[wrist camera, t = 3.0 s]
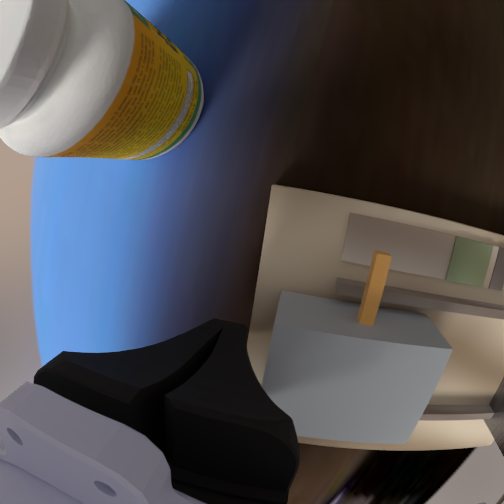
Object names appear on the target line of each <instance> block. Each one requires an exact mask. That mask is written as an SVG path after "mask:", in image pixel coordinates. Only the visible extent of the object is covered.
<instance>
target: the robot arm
mask: <svg viewBox="0 0 504 504" xmlns="http://www.w3.org/2000/svg"><path fill="white" fill-rule="evenodd" d="M246 336H247V327H246V326H245V325H242V324H237V323H232V322H227V321H222V320H218V319H212V320H209V321H207V322H206V323H204V324H202V325H200V326H198V327H196V328H194V329H192V330H190V331H188V332H186V333H183V334H181V335H179V336H176V337H174V338H171V339H169V340H166V341H164V342H161V343H158V344H154V345H151V346H147V347H143V348H138V349H132V350H126V351H120V352H109V353H80V352H66V351H63V352H61V353H60V354H59V355H57V356H56V357H55V358H53V359H52V360H51V361H49V362H48V363H47V364H46V365H44V366H43V367H42V368H40V369H39V370H38V371H37V373H36V374H35V376H34V384H33V383H30V382H26V383H24V384H23V385H22V386H20V387H19V388H18V389H17V390H16V391H14V392H13V393H12V394H11V395H9V396H8V397H7V398H6V399H5V400H3V401H2V402H1V403H0V504H287V501H288V493H289V489H290V487H291V484H292V482H293V480H294V477H295V475H296V473H297V470H298V467H299V462H300V453H299V444H298V439H297V434H296V430H295V426H294V423H293V420H292V418H291V417H290V416H289V415H287V414H286V413H285V412H284V411H283V410H281V409H280V408H279V407H278V406H277V405H276V404H275V403H274V402H273V401H272V400H271V399H270V397H269V396H268V395H267V393H266V392H265V390H264V389H263V388H262V386H261V384H260V383H259V381H258V379H257V377H256V375H255V373H254V370H253V368H252V365H251V362H250V359H249V356H248V351H247V346H246ZM479 504H486V503H479Z"/></svg>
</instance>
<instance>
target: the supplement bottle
mask: <svg viewBox="0 0 504 504" xmlns="http://www.w3.org/2000/svg"><path fill="white" fill-rule="evenodd" d="M203 101H204V93H203V84H202V80H201V77H200V74H199V72H198V70H197V68H196V66H195V65H194V64H193V62H192V61H191V60H190V59H189V58H188V57H187V56H186V55H185V54H184V53H183V52H182V51H181V50H180V49H179V48H178V47H177V46H175V45H174V44H173V43H172V42H171V41H170V40H169V39H168V38H167V37H166V36H164V35H163V34H162V33H161V32H160V31H159V30H158V29H157V28H156V27H155V26H153V24H151V23H150V22H149V21H148V20H147V19H146V18H144V17H143V16H142V15H141V14H140V13H139V12H138V11H137V10H135V9H134V8H133V7H132V6H131V5H129V4H128V3H127V2H126V1H125V0H0V138H1V139H2V140H3V142H4V143H5V144H6V145H8V146H9V147H10V148H12V149H13V150H14V151H16V152H18V153H21V154H24V155H27V156H34V157H90V158H112V159H128V160H146V159H151V158H155V157H158V156H160V155H163V154H165V153H167V152H169V151H170V150H172V149H174V148H175V147H176V146H178V145H179V144H180V143H181V142H182V141H183V140H185V139H186V137H187V136H188V135H189V134H190V132H191V131H192V130H193V128H194V126H195V125H196V123H197V121H198V119H199V116H200V113H201V110H202V107H203Z"/></svg>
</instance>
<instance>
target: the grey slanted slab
mask: <svg viewBox="0 0 504 504" xmlns="http://www.w3.org/2000/svg"><path fill="white" fill-rule="evenodd" d="M489 405H490V407H491V408H492V410H493V411H494V415H493V416H492V418H491V419H483V420H484V422H485V423H486V425H487V427H488V429H489V430H490V432H491V434H492V436H493V438H494V439H495V441H496V443H497V445H498V447H499V449H500V450H501V452H502V454H503V456H504V377H503V379H502V381H501V383H500V385H499V387H498V389H497V391H496V393H495V395H494V396H493V398H492V400H491V402H490V404H489Z"/></svg>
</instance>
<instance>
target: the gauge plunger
mask: <svg viewBox="0 0 504 504" xmlns="http://www.w3.org/2000/svg"><path fill="white" fill-rule="evenodd" d="M391 258H392V256H391V255H390V254H389V253H387V252H382V251H376V250H374V252H373V256H372V261H371V265H370V269H369V274H368V278H367V282H366V286H365V290H364V294H363V298H362V301H361V304H359V303H353V302H347V301H341V300H335V299H329V298H323V297H317V296H312V295H306V294H300V293H295V292H289V291H284V290H282V291H281V295H280V300H279V304H278V308H277V313H276V317H275V321H274V326H273V331H272V336H271V342H270V347H269V352H268V357H267V362H266V367H265V372H264V376H263V381H262V388H263V389H264V390H265V392H266V393H267V395H268V396H269V397H270V399H271V400H272V401H273V402H274V403H275V404H276V405H277V406H278V407H279V408H280V409H281V410H283V411H284V412H285V413H286V414H287V415H289V416H290V417H291V418H292V420H293V423H294V426H295V430H296V434H297V436H303V437H310V438H318V439H327V440H337V441H348V442H361V443H379V444H406V442H407V441H408V439H409V437H410V435H411V434H412V432H413V430H414V429H415V427H416V425H417V423H418V421H419V420H420V418H421V416H422V414H423V412H424V410H425V408H426V406H427V404H428V403H429V401H430V399H431V397H432V395H433V393H434V390H435V388H436V386H437V384H438V382H439V380H440V378H441V376H442V373H443V371H444V369H445V367H446V364H447V362H448V360H449V357H450V355H451V353H452V350H453V349H452V347H451V346H450V345H449V343H448V342H447V341H446V339H445V338H444V337H443V335H442V334H441V333H440V332H439V330H438V329H437V328H436V326H435V325H434V324H433V323H432V321H431V320H430V319H429V318H428V316H427V315H426V314H423V313H416V312H409V311H403V310H396V309H390V308H384V307H379V304H380V301H381V297H382V293H383V290H384V286H385V282H386V278H387V274H388V270H389V266H390V262H391Z"/></svg>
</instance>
